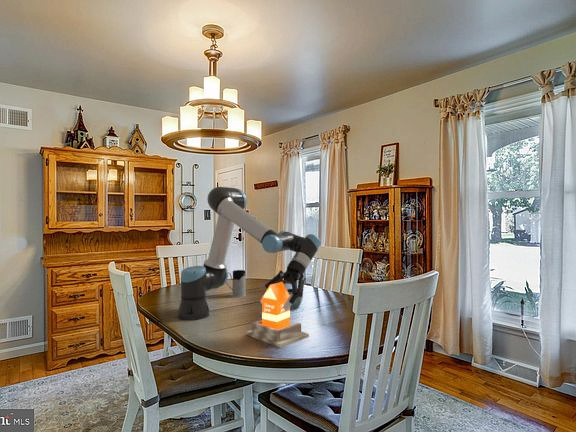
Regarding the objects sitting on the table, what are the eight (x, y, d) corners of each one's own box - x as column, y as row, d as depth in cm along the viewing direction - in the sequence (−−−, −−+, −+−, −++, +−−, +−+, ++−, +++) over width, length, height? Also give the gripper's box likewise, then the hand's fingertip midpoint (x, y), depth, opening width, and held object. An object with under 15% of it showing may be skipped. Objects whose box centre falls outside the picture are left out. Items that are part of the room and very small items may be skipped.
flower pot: (300, 310, 180) (300, 292, 180) (284, 309, 182) (284, 292, 182) (303, 305, 188) (303, 289, 188) (287, 304, 190) (287, 288, 190)
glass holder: (241, 297, 206) (241, 272, 206) (221, 295, 212) (221, 271, 212) (248, 294, 215) (248, 270, 215) (228, 292, 220) (228, 269, 220)
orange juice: (261, 333, 141) (261, 284, 141) (275, 327, 148) (275, 280, 148) (277, 337, 137) (277, 286, 137) (290, 331, 144) (290, 282, 144)
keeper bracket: (246, 334, 143) (246, 322, 143) (274, 325, 155) (274, 314, 155) (280, 347, 129) (280, 333, 129) (308, 336, 141) (308, 323, 140)
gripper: (324, 273, 144) (300, 317, 133) (282, 267, 161) (257, 306, 151) (316, 262, 140) (290, 306, 130) (274, 257, 158) (248, 295, 147)
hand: (272, 306), depth 140 cm, fingers open, 13 cm apart
